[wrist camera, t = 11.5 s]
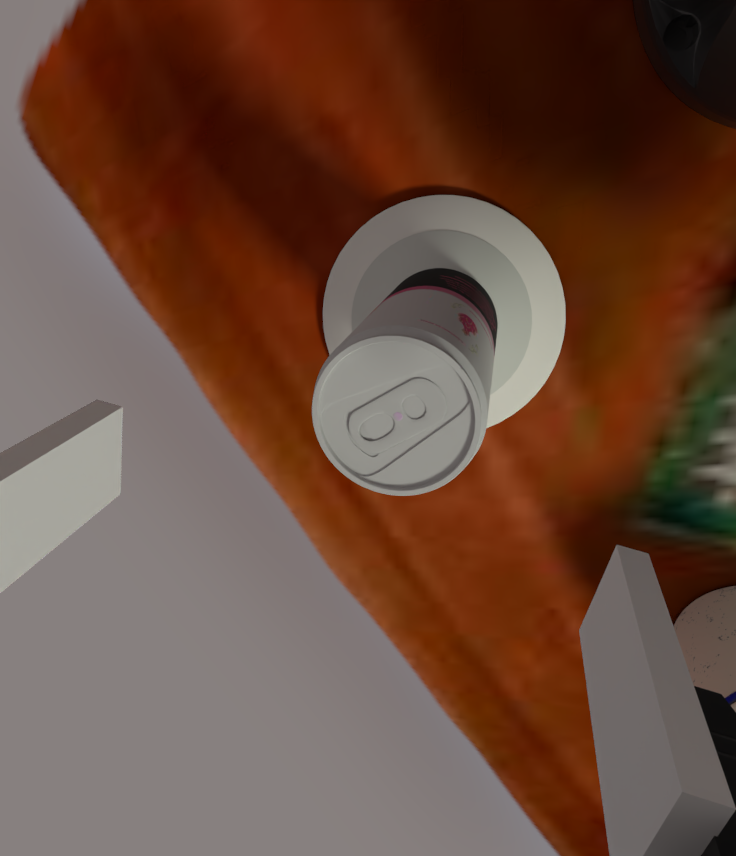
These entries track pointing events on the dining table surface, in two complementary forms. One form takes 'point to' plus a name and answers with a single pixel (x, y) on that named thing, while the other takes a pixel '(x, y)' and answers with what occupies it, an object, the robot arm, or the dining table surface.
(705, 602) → the teacup with lid
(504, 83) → the dining table surface
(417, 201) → the plate
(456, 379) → the beverage can
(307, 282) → the dining table surface
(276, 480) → the dining table surface
